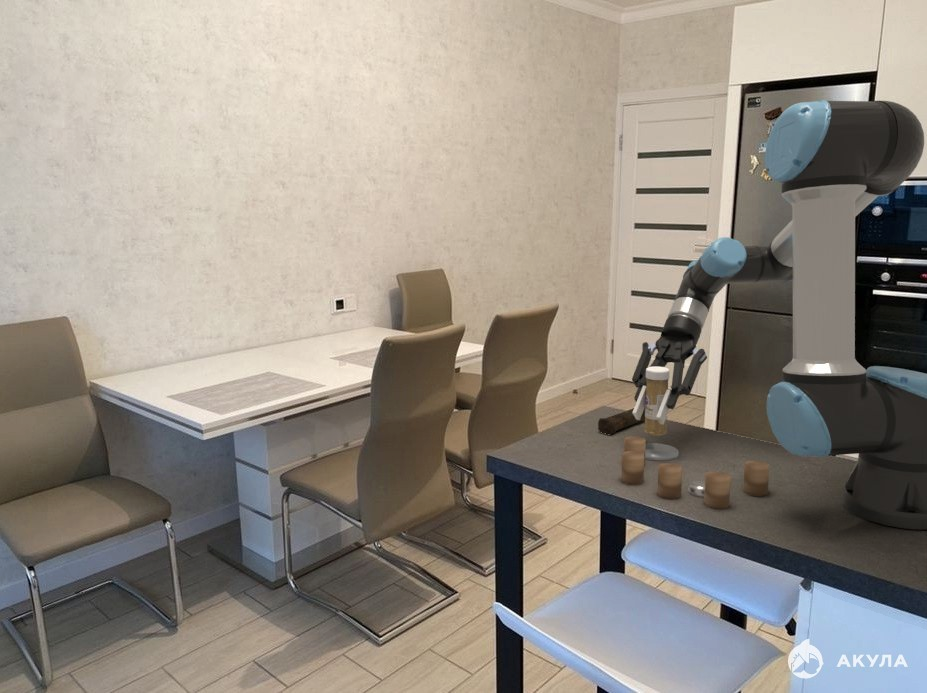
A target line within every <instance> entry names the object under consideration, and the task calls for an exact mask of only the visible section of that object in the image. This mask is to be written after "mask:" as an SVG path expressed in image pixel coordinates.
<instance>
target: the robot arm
mask: <svg viewBox="0 0 927 693" xmlns="http://www.w3.org/2000/svg"><path fill="white" fill-rule="evenodd" d="M924 148H925V133H924V129H923V126H922V123H921V122H920V119H919V118H918V117H917V116H916V114H915V113H914V112H913V111H912V110H910V109H909V108H908V107H906V106H904V105H902V104H901V103H898V102H894V101H890V100H873V101H871V100H869V101H865V100H864V101H863V100H862V101H861V100H856V101H855V100H824V99H819V100H816V101H807V102H806V101H804V102H798V103H795V104H793V105H791V106H789V107H788V108H787V109H785V110H784V111H782V113H781V114H780V115H779V116H778V117H777V119H776V121H775V123H774V125H773V126H772V127H771V131H770V132H769V136H768V138H767V142H766V146H765V153H764V166H765V170H766V172H767V175H768V177H769V178H770V179H771V180H773V181H774V182H776V183H779V184H781V197H782V198H783V199H784V200H786V201H787V202H788V203H789V204H790V205H791V207H792V209H791V210H792V216H791V217H792V219H791V220H790V221H789V222H788V224H787V225H786V226H785V227H784V228H783V229H782V230H781V231H780V232H779V233H778V234H777V235H776V236H775V237H774V238H773V239H772V240H771V241H770V242H769V243H768V244H765V245H764V244H763V245H743V244H742V243H741V242H740V241H739V240H737V239H733V238H732V237H729V236H728V237H726V236H723V237H719V238H717V239H715V240H714V241H712V243H711V244H709V245H708V247H707V248H705V249H704V250H703V252H702V254H701V256H700V257H699V259H696V260H693V261H691V262H690V263H689V264H688V266H687V268H686V271H685V272H684V273H683V275H682V279H681V282H680V285H679V287H678V290H677V293H676V295H675V298H674V301H673V303H672V305H671V308H670V310H669V313H668V314H667V318H666V320H665V322H664V324H663V327H662V329H661V332H660V336H659V338H658V339H657V340H656V341H655V342H654V343H648V342H646V341H645V342H643V343H642V346H641V347H642V352H641V355H640V356H639V360H638V361H637V365H636V367H635V370H634V372H633V376H632V377H631V378H632V379H631V380H632V383H633V384H634V386H635V388H637V390H636V392H635V395H634V401H635V404H636V405H635V404H634V407H633V408H634V410H633V412H632V413H633V415H634V416H635V418H636V420H640V418H641V416H642V413H643V411H644V408H645V403H646V385H647V384H646V383H647V380H646V369H647V368H648V367H655V366H657V367H665V368H666V366H667V364H668V363H673V371H672V380H671V385H670V389H669V388H668V389H667V390H666V393H665V395H664V398H663V401H662V403H661V406H660V408H659V411H658V414H657V416H656V418H657V419H658V421H659V423H660V424H663V425H664V422H665V420H666V417H667V418H668V414H669V412H670V410H674V408H676V404H677V403H678V399H679V397H680V396H683V395H684V396H689V395H691V392H692V390H693V387H694V385H695V383H696V382H695V381H696V379H697V377H698V374H699V371H700V369H701V366H702V365H703V364H704V362H705V361H706V360H707V359H708V356H707V354H706V351H705V349H704V348H697V344H698V342H699V340H700V337H701V334H702V329H703V328H704V325H705V323H706V320H707V317H708V314H709V313H710V308H711V307H712V304H713V302H714V299H715V298H716V296H717V294H718V293H719V292H720V291H722V289H723V288H724V287H725V286H726V285H729V284H748V283H749V284H750V283H778V282H779V283H789V282H792V359H791V361H790V362H788V363H787V364H786V365H785V366H784V367H783V368H782V381H781V382H777V384H774V385H773V386H771V388H769V389H770V390H769V393H768V395H767V397H766V398H767V399H766V414H767V419H768V424H769V425H770V429H771V431H772V434H773V435H774V436H775V438H776V441H777V442H778V443H779V444H780V445H781V446H782V448H784V449H785V450H786V451H788V453H790V454H792V455H795V456H797V457H817V458H825V457H829V456H841V455H842V456H843V455H855V454H856V455H858V457H857V461H856V462H855V464H854V466H853V468H852V470H851V472H850V474H849V476H848V478H847V481H846V482H845V484H844V486H843V490H842V499H841V501H842V502H841V503H842V504H843V506H844V507H845V508H846V509H847V510H848V511H849V512H850V513H852V514H854V515H856V516H858V517H860V518H861V519H862V518H863V519H864V520H867V521H870V522H873V523H876V524H879V525H880V524H881V525H884V526H888V527H893V528H900V529H909V530H927V373H924V372H920V371H916V370H910V369H905V368H899V367H893V366H892V367H891V366H880V365H873V366H872V365H871V366H869V367H867V369H866V368H865V367H863V365H861V364H860V363H859V362H858V361H857V359H856V355H855V354H856V353H855V351H856V346H855V345H856V344H855V341H856V337H855V336H856V333H855V332H856V331H855V330H856V325H855V324H856V319H855V317H856V293H855V292H856V217H857V216H858V215H859V214H860V213H861V212H863V210H865V209H866V208H867V207H868V206H869V205H870V204H871V203H873V202H874V200H876V199H877V198H878V197H885V196H887V195H889V194H891V193H893V192H895V190H897V189H898V188H899V187H900V186H901V185H902V184H904V182H905V181H906V180H907V179H908V178H910V176H911V175H912V173H913V172H914V171H915V170H916V168H917V167H918V164H919V163H920V160H921V158H922V156H923V153H924ZM655 351H657V353H656V354H655ZM654 354H655V357H654V360H653V361H652V363H651V364H650V362H651V359H652V356H654ZM690 357H692V358H691V360H690V363H689V365H688V368H687V370H686V373H685V376H684V377H683V375H684V369H685V364H686V361H687V359H689V358H690Z"/></svg>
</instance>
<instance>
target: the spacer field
mask: <svg viewBox="0 0 927 693" xmlns="http://www.w3.org/2000/svg"><path fill="white" fill-rule="evenodd" d="M623 441H624V442H623V443H624V445H623V448H624V449H623V452H622V453H621V474H620V476H621V477H620V478H621V482H622V483H624V484H626V485H632V486H633V485H635V486H636V485H637V486H638V485H641V484H643V483H644V482H645V481H644V480H645V479H644V478H645V475H644V474H645V466H646V459H645V446H646V443H647V441H646V438H644V437H641V436H627V437H625V438H624V440H623ZM770 468H771V466H770V464H769V463H767V462H765V461H761V460H747V461H745V462H744V468H743V469H744V471H743V484H742V485H743V488H742V491H743V492H744V493H745V494H747V495H749V496H755V497H765V496H767V495H768V493H769V483H770V481H769V480H770ZM704 477H705V479H704V482H705V497H703V498H704V505H705V506H707V507H709V508H711V509H717V510H724V509H727V508H729V507H730V503H731V502H730V500H731V482H732V481H731V480H732V476H731V475H730V474H728V473H726V472H722V471H717V470H715V471H712V470H711V471H708V472H706V473H705V476H704ZM682 481H683V467H682V466H681V465H680V464H677V463H671V462H670V463H669V462H666V463H665V462H664V463H660V464H658V466H657V490H656V491H657V495H658V496H659V497H661V498H663V499H667V500H675V499H680V498H681V497H682V483H683V482H682Z"/></svg>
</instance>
